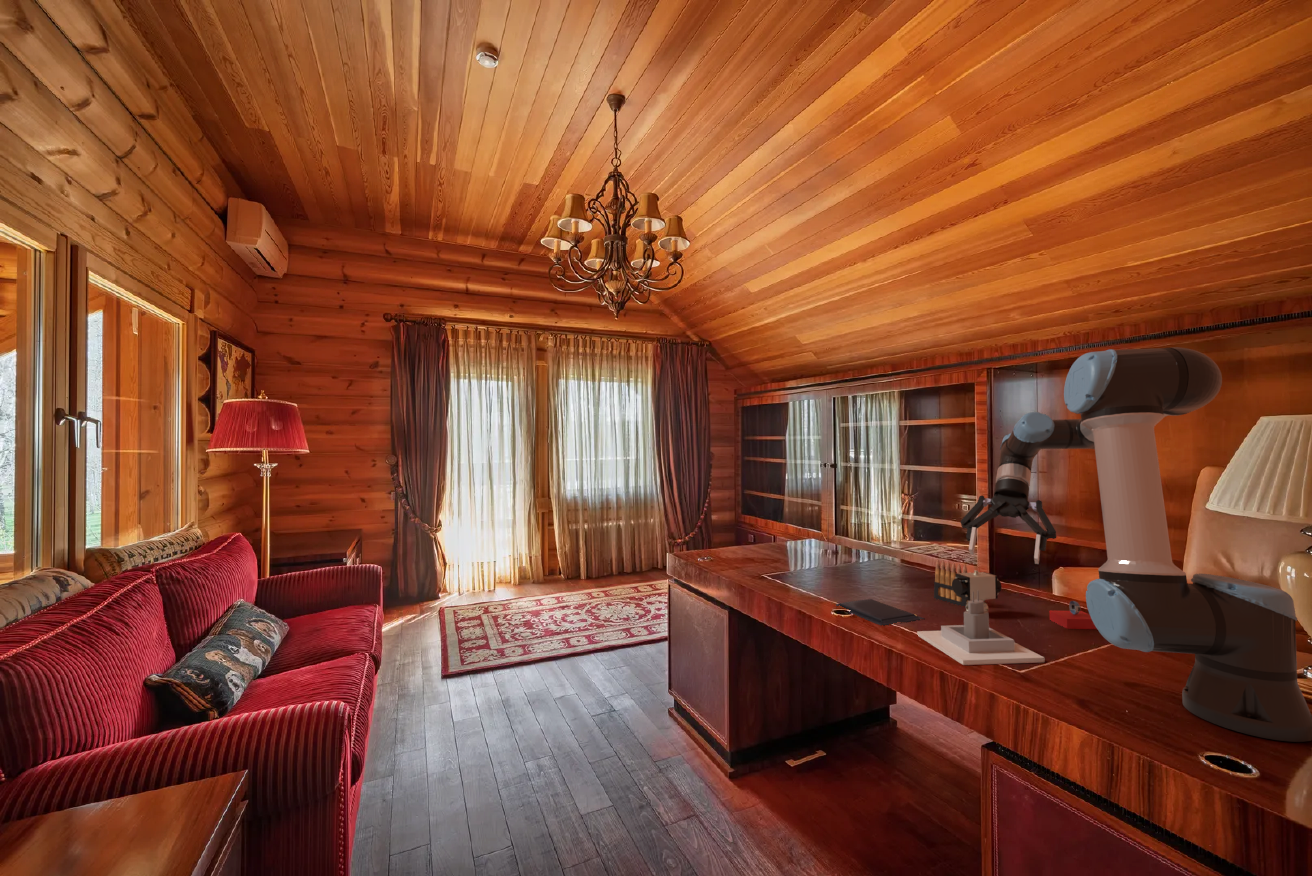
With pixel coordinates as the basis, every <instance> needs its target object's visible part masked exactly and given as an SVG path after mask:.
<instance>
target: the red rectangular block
mask: <svg viewBox="0 0 1312 876" xmlns="http://www.w3.org/2000/svg"><path fill="white" fill-rule="evenodd" d="M1068 605H1069V610H1049V621H1050V620H1051V621H1050V622H1053V623H1054V622H1055V623H1054V624H1056V623H1057V625H1058V626H1061V627H1062V626H1063V628H1065V629H1066V630H1098V629H1097V628H1096V626H1095V625H1094V623H1093V621H1092V619H1091V616H1090V614H1089V613H1088V612H1084V611H1082V610H1081V606H1080V604H1079V602H1078V601H1076V600H1071V601H1070V602H1069V604H1068Z"/></svg>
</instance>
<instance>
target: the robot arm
mask: <svg viewBox="0 0 1312 876" xmlns="http://www.w3.org/2000/svg"><path fill="white" fill-rule="evenodd" d="M1070 366H1071V367H1070V368H1069V371H1068V372H1067V374H1066V379H1065V382H1064V388H1063V400H1064V404H1065V406H1066V409H1068V411H1069V412H1071V413H1074V414H1076V415H1080V418H1076V419H1075V418H1074V419H1073V418H1072V419H1071V418H1069V419H1066V418H1065V419H1053V418H1052V417H1050V416H1049V415H1047V413H1041V412H1039V411H1030V412H1026V413H1024V415H1022V416H1021V418H1020V419H1018V421H1017V422H1016V423H1015V424H1014V426H1013V429H1012V431H1011V432H1010V433H1008V434H1005V435H1004V436H1003V438H1002V442H1001V444H1000V449H999V450H1000V452H999V459H998V466H997V471H996V477H995V485H994V491H993V496H992V498H988V497H987V498H986V497H985V496H984V495H979V497H978V499H977V502H976V503H975V504H974V505H973V507H972V508H971V509H970V510H969V511H968V512H967V513H966V514H965V515H964V516H963V518H962V519H961V520H960V525H961V528H962V529H966V535H965V537H966V540H967V542H969V544H968V552H969V555H975V548H976V543H977V536H978V531H977V529H979V528H980V527H981V526H983V525H984V524H986V523H987V522H989V521H991V520H993V519H994V518H997V517H998V516H1001V517H1010V518H1017V517H1019V518H1020V519H1021V520H1022V521H1023V522H1025V524H1026V525H1027V526H1028V527H1030V528H1031V530H1032V531H1033V532H1034V533H1035V534H1036V535H1035V536H1036V537H1035V545H1034V555H1033V560H1034V564H1035V565H1039V563H1040V557H1041V556H1040V554H1041V551H1042V552H1046V550H1047V542H1048V540H1049V539H1053V540H1055V539H1057V531H1056V529H1055V527H1054V525H1053V524H1052V522H1051V521H1050V518H1049V517H1048V515H1047V514H1046V512H1045V510H1044V509H1043V502H1042V500H1040V499H1038V500H1036V501H1035V502H1033V501H1032V502H1031V501H1029V495H1030V494H1029V493H1030V485H1031V475H1032V468H1033V462H1034V459H1035V458H1036V456H1037V455H1038V453H1039V452H1040V451H1041V450H1067V449H1068V450H1077V449H1078V450H1079V449H1080V450H1082V449H1083V450H1087V449H1088V450H1089V449H1090V450H1091V449H1092V450H1094V453H1095V454H1094V455H1095V462H1096V469H1097V478H1098V488H1099V495H1100V503H1101V512H1102V513H1101V514H1102V523H1103V529H1104V538H1105V548H1106V556H1107V560H1106V561H1105V562H1104V563H1103V564H1102V565H1101V566H1100V567H1098V570H1097V571H1098V577H1099V578H1096V579H1094V580H1090V581H1089V582H1088V584H1087V587H1086V589H1087V590H1086V591H1085V601H1086V607H1087V611H1088V614H1090V616H1091V619H1092V621H1093V623H1094V625H1095V626H1096V628H1097V629H1096V630H1098V632H1099V634H1100V635H1101V636H1102V637H1103V638H1104V639H1105V640H1106V641H1107V642H1109V643H1110V644H1111V645H1113V646H1115V647H1118V648H1120V649H1124V650H1126V649H1127V650H1134V651H1136V650H1137V651H1141V652H1143V653H1150V652H1161V653H1162V652H1163V653H1175V654H1177V653H1179V654H1192V655H1194V665H1193V666H1192V669H1191V671H1190V674H1189V675H1188V678H1187V680H1186V683H1185V686H1183V688H1182V693H1181V694H1182V695H1181V696H1182V697H1181V698H1182V705H1183V707H1184V708H1185V709H1186V710H1187V711H1189V712H1190V713H1191V714H1193V715H1194V716H1195V717H1198V718H1200V719H1203V720H1204V721H1206V722H1209V723H1211V724H1214V725H1217V726H1219V727H1222V728H1225V729H1228V730H1231V731H1233V732H1238V733H1241V734H1244V735H1247V736H1248V735H1249V736H1253V737H1258V738H1263V739H1268V740H1274V741H1282V742H1289V743H1291V742H1293V743H1295V742H1296V743H1304V742H1305V743H1306V742H1311V741H1312V713H1311V711H1310V709H1309V706H1308V704H1307V701H1306V699H1305V697H1304V694H1303V692H1302V690H1301V687H1300V685H1299V683H1298V682H1299V681H1298V661H1297V657H1298V656H1297V631H1296V626H1297V625H1296V623H1297V621H1298V618H1297V615H1296V610H1295V609H1296V608H1295V602H1294V598H1293V597H1292V596H1291V595H1290V594H1289V593H1288V592H1286V591H1284V590H1282V589H1280V588H1277V587H1274V586H1271V585H1268V584H1267V585H1266V584H1263V583H1260V582H1259V583H1258V582H1254V581H1249V580H1246V579H1245V580H1244V579H1241V578H1234V577H1230V576H1224V575H1217V574H1216V575H1215V574H1211V573H1210V574H1209V573H1195V574H1193V575H1192V577H1191V579H1190V581H1191V582H1192V583H1188V579H1187V572H1185V571H1183V570H1182V569H1181V568H1179V567H1178V566H1177V565H1175V563H1174V562H1173V557H1172V552H1171V550H1172V549H1171V543H1170V538H1169V537H1170V536H1169V529H1168V521H1167V514H1166V513H1167V512H1166V508H1165V501H1164V494H1163V493H1164V492H1163V486H1162V485H1163V484H1162V477H1161V470H1160V462H1159V455H1158V449H1157V448H1158V447H1157V441H1156V435H1155V427H1156V425H1157V424H1158V423H1160V422H1161V421H1162V420H1163V419H1164V418H1165V417H1167V416H1171V417H1174V416H1175V417H1177V416H1184V415H1186V414H1189V413H1191V412H1195V411H1196V410H1198V409H1201V408H1203V407H1204V406H1207V404H1209V403H1210V402H1212V401H1213V400H1214V399H1215V397H1217V395H1218V394H1219V392H1220V390H1221V389H1222V388H1221V387H1222V384H1223V377H1222V376H1223V375H1222V372H1221V369H1220V368H1219V366H1218V364H1217V363H1216V362H1215V361H1214V359H1212V358H1211V357H1210V356H1208V355H1207V354H1205V353H1203V352H1200V351H1199V350H1196V349H1190V348H1186V347H1177V346H1176V347H1165V348H1162V347H1160V348H1158V347H1157V348H1132V349H1130V348H1129V349H1128V348H1127V349H1114V348H1113V349H1110V348H1109V349H1107V350H1100V351H1098V350H1097V351H1089V352H1086V353H1084V354H1082V355H1080V356H1079V357H1078V358H1077V359H1076V360H1075V361H1074V362H1073V363H1072V365H1070ZM988 505H991V506H990V507H989V508H988V509H987V510H986V511H984V512H983V513H982V514H981V512H982V511H983V510H984V508H986V507H987V506H988ZM1030 508H1031V509H1032V510H1033V511H1034V512H1036V513H1037V516H1038V517H1039V519H1040V521H1041V522H1042V525H1043V527H1044V528H1045V529H1044V528H1043V527H1042V526H1041V525H1040V524H1039V523H1038V522H1037V521H1036V520H1035V519H1034V518H1033V517H1032V516H1031V515H1030V514H1029V513H1028V510H1029V509H1030ZM978 515H979V516H978Z"/></svg>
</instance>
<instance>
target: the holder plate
mask: <svg viewBox="0 0 1312 876" xmlns="http://www.w3.org/2000/svg"><path fill="white" fill-rule="evenodd" d="M916 632H917V633H916V635H918V637H919V638H921V639H922V640H924V641H925V642H927V643H928V644H929V645H931V646H933V647H934V648H936V649H938V650H939V651H941V652H943V653H944V654H945V655H947V656H949V657H950V658H952V659H953V660H954V661H956V662H958V663H959V664H961V665H963V666H973V665H974V666H975V665H998V664H999V665H1003V664H1032V663H1033V664H1034V663H1037V664H1038V663H1045V662H1046V661H1045V660H1046V659H1045V656H1042V655H1040V654H1038V653H1036V652H1034V651H1033V650H1030V649H1029V648H1026V647H1024V646H1022V645H1020V644H1019V643H1016V642H1015V639H1013V638H1011V637H1009V636H1008V635H1005V634H1003V633H1002V632H1000V631H997V630H995V629H993V628H991V627H989V639H969V638H967V637H966V636H964V624H958V625H957V624H953V625H940V630H922V631H921V630H919V631H916Z"/></svg>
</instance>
